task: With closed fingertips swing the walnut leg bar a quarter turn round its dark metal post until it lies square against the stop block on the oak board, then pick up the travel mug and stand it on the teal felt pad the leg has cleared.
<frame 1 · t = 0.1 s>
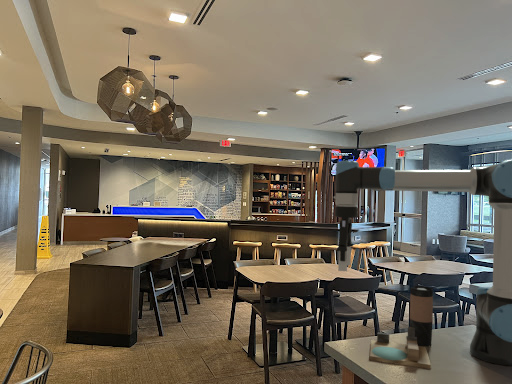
hand: (344, 267, 136), 28 cm above the table, fingers open, 13 cm apart
oak board: (398, 354, 132), on the table
travel mug: (420, 343, 144), on the table
felt pad: (389, 356, 130), resting on oak board
leg bar: (412, 348, 128), point 4 cm above the table, hinge at 90.0°
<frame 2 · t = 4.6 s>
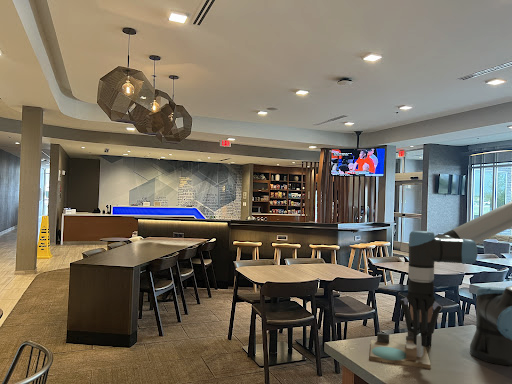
hand: (419, 355, 124), 3 cm above the table, fingers closed
leg bar: (411, 347, 128), point 4 cm above the table, hinge at 87.0°, touching gripper
everything else where it was.
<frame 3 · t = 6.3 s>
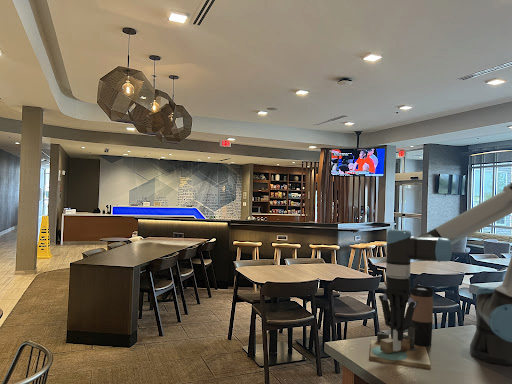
hand: (396, 349, 129), 3 cm above the table, fingers closed
leg bar: (395, 343, 132), point 4 cm above the table, hinge at 42.3°, touching gripper
everything else where it was.
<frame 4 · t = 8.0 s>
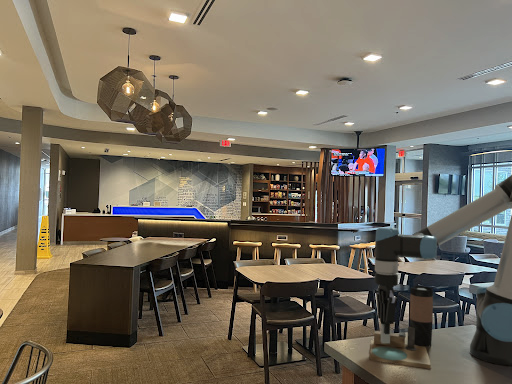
hand: (385, 342, 135), 3 cm above the table, fingers closed
leg bar: (389, 338, 137), point 4 cm above the table, hinge at -1.3°, touching gripper
everything else where it was.
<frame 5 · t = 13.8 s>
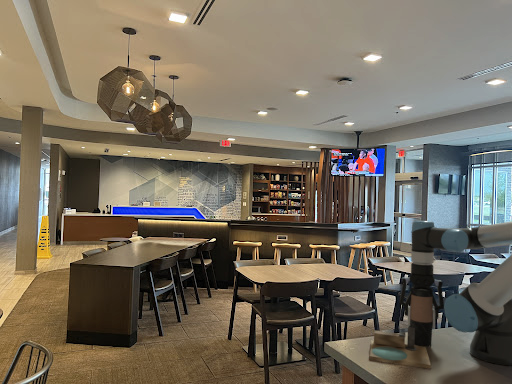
hand: (420, 326, 144), 6 cm above the table, fingers closed on travel mug, 8 cm apart
travel mug: (420, 343, 144), on the table, touching gripper
leg bar: (389, 338, 137), point 4 cm above the table, hinge at -2.7°
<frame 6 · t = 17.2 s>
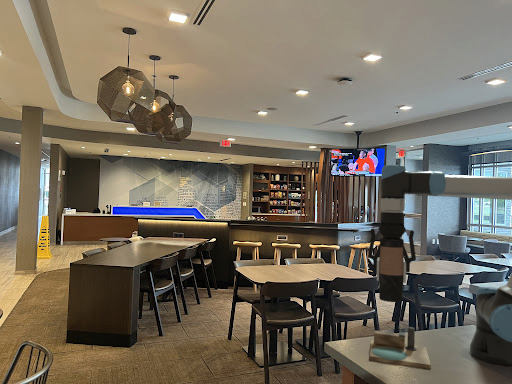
hand: (390, 280, 131), 25 cm above the table, fingers closed on travel mug, 8 cm apart
travel mug: (390, 300, 131), point 19 cm above the table, touching gripper
everything else where it was.
when the fingers open (9 cm above the table, at t = 20.6 s): travel mug drops 1 cm, resting on felt pad.
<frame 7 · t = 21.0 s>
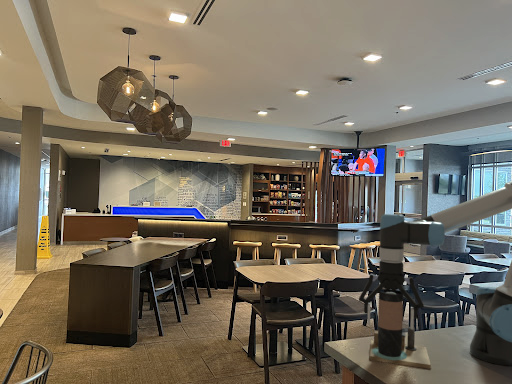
hand: (390, 325, 130), 10 cm above the table, fingers open, 13 cm apart
travel mug: (389, 353, 130), point 1 cm above the table, touching felt pad
everything else where it was.
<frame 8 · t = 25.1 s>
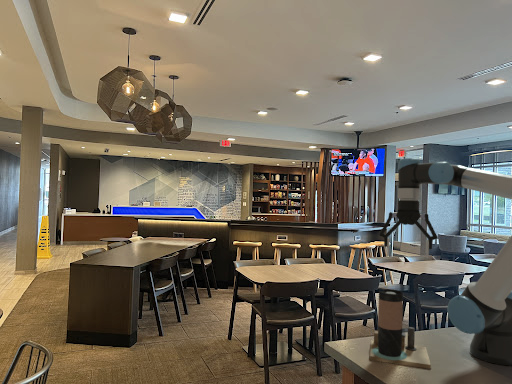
hand: (407, 256, 148), 31 cm above the table, fingers open, 13 cm apart
nothing on the table moved.
at the end: leg bar at -3° (first picture: +90°); travel mug 0.1 cm from the felt pad (horizontally); travel mug tilted 0° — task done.
